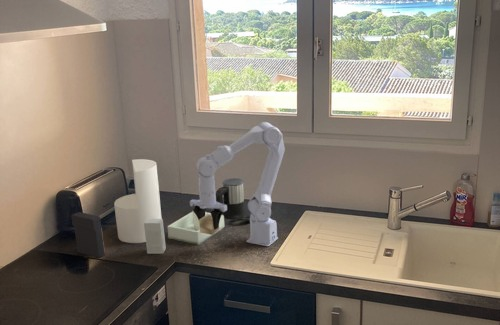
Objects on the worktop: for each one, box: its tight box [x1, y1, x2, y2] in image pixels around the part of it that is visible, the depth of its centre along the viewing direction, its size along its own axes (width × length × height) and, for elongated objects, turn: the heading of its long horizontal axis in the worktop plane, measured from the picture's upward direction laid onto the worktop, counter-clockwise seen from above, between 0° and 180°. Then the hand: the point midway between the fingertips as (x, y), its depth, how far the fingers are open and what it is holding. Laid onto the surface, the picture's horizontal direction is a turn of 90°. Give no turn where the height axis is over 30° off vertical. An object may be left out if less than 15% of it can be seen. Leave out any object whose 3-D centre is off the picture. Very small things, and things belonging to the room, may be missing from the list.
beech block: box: [199, 215, 219, 236], centre depth 193 cm, size 5×5×5 cm
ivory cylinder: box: [192, 210, 206, 231], centre depth 211 cm, size 5×5×7 cm
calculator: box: [70, 211, 106, 259], centre depth 194 cm, size 11×4×15 cm, turn 59°
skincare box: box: [144, 218, 167, 255], centre depth 194 cm, size 6×4×12 cm
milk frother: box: [215, 177, 250, 223], centre depth 221 cm, size 14×16×15 cm
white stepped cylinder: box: [113, 158, 163, 244], centre depth 208 cm, size 17×17×28 cm
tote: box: [167, 211, 225, 246], centre depth 210 cm, size 14×18×5 cm
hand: (209, 226), depth 194 cm, fingers closed on beech block, 5 cm apart
